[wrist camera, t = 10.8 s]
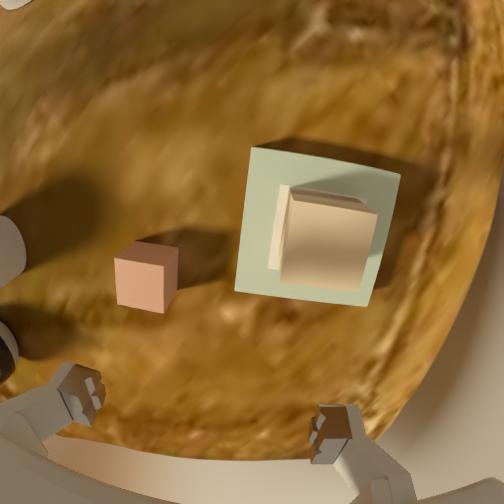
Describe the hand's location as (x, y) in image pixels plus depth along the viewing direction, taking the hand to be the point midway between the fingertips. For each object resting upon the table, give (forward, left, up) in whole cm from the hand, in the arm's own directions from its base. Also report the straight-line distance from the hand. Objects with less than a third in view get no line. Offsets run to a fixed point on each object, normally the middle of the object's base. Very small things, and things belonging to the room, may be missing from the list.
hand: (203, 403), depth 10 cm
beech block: (-3, +6, -16) cm, 17 cm away
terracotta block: (+4, -8, -19) cm, 21 cm away
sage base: (-2, +6, -19) cm, 20 cm away
